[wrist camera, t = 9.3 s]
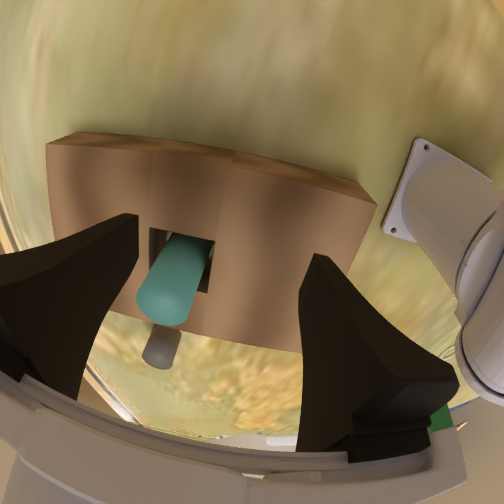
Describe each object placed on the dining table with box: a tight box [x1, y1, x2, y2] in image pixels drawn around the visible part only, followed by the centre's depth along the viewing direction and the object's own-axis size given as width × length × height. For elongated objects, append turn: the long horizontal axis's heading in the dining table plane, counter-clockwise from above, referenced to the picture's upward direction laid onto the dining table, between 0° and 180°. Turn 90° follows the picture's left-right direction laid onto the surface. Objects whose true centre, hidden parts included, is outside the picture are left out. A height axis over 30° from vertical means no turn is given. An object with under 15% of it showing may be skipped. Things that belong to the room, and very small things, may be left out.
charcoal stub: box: [142, 324, 181, 370], centre depth 26 cm, size 3×3×4 cm
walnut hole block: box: [46, 132, 377, 353], centre depth 20 cm, size 22×14×4 cm, turn 78°
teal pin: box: [136, 232, 214, 326], centre depth 18 cm, size 3×3×8 cm
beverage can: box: [427, 403, 454, 434], centre depth 32 cm, size 8×8×12 cm
